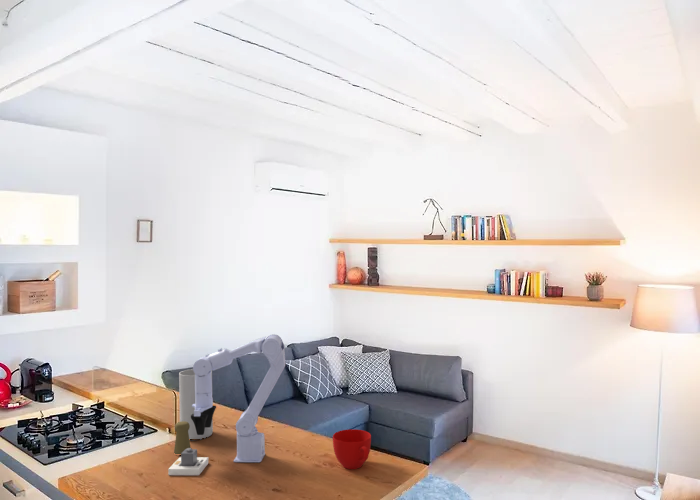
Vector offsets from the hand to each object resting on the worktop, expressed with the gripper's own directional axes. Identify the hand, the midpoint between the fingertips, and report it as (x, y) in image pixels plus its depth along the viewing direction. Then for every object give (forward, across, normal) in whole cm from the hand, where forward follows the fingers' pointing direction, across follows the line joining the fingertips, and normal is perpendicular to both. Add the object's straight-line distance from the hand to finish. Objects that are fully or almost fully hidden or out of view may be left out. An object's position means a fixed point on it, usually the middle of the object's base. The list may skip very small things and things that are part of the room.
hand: (204, 430), depth 188 cm
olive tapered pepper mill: (+10, -6, -10) cm, 15 cm away
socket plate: (+10, +8, -2) cm, 13 cm away
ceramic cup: (+10, +6, +53) cm, 54 cm away
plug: (+10, +9, -2) cm, 13 cm away
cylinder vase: (+10, -24, -11) cm, 28 cm away
